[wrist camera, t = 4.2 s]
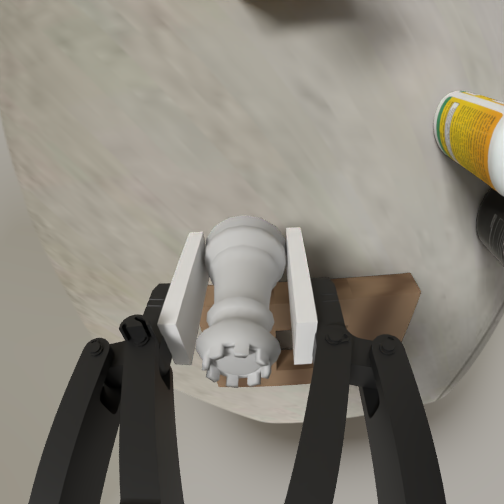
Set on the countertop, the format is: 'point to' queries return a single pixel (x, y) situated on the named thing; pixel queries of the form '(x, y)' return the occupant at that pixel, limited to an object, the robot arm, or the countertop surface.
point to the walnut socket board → (354, 314)
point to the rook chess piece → (241, 299)
